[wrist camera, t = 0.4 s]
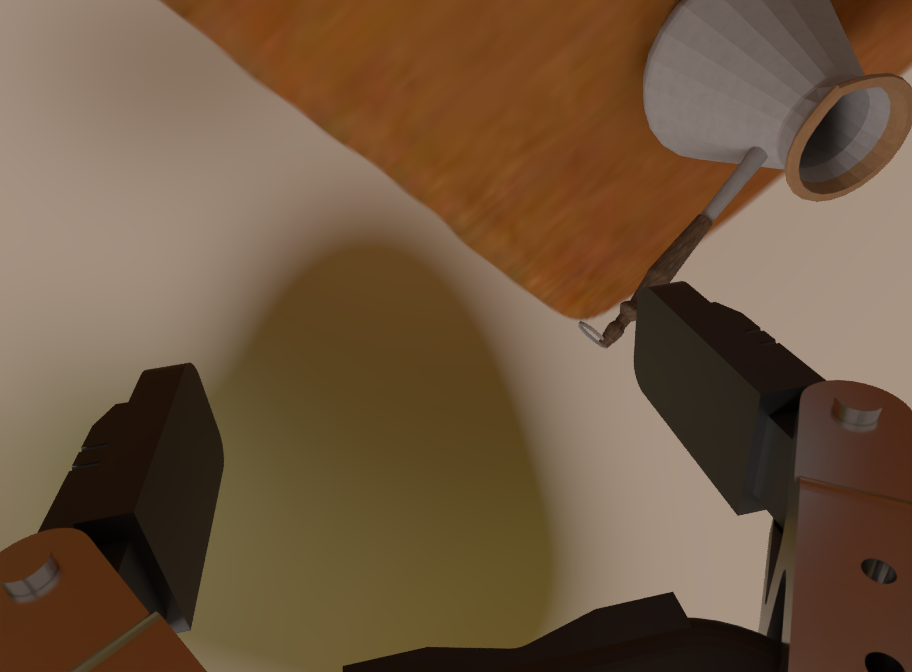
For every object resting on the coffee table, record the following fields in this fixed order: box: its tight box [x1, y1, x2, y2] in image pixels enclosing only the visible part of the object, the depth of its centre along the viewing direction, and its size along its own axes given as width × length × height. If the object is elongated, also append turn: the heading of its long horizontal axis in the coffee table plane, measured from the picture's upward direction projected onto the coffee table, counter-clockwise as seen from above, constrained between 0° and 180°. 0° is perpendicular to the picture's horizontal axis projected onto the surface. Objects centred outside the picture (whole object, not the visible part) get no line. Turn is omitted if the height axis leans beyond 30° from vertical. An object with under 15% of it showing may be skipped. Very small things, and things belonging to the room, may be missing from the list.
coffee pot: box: [578, 0, 912, 349], centre depth 35 cm, size 21×12×15 cm, turn 125°
